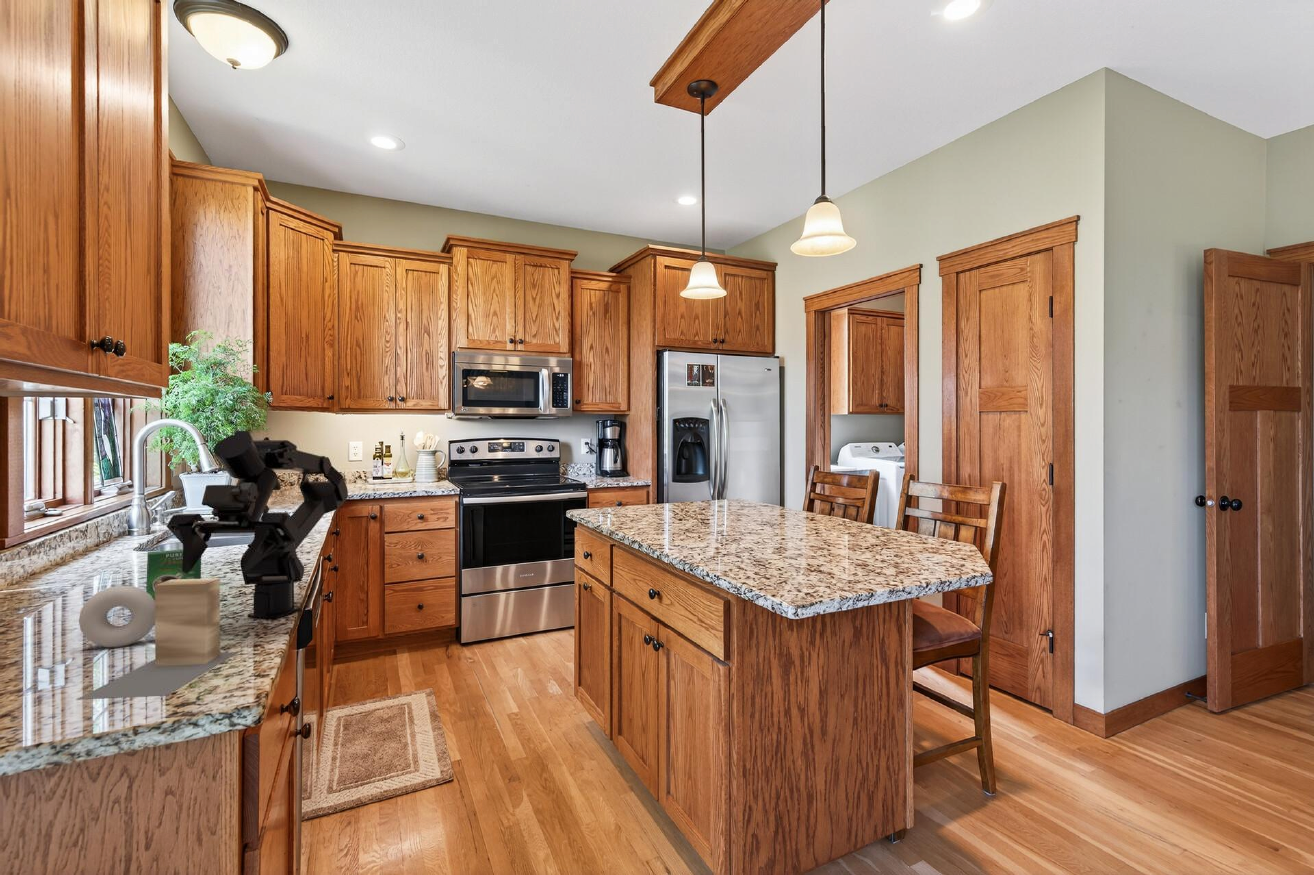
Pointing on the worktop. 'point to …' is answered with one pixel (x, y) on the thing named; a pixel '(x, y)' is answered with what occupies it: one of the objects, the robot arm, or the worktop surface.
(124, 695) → the rubber mat
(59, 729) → the worktop surface
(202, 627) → the birch block
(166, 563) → the coffee box
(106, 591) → the donut
